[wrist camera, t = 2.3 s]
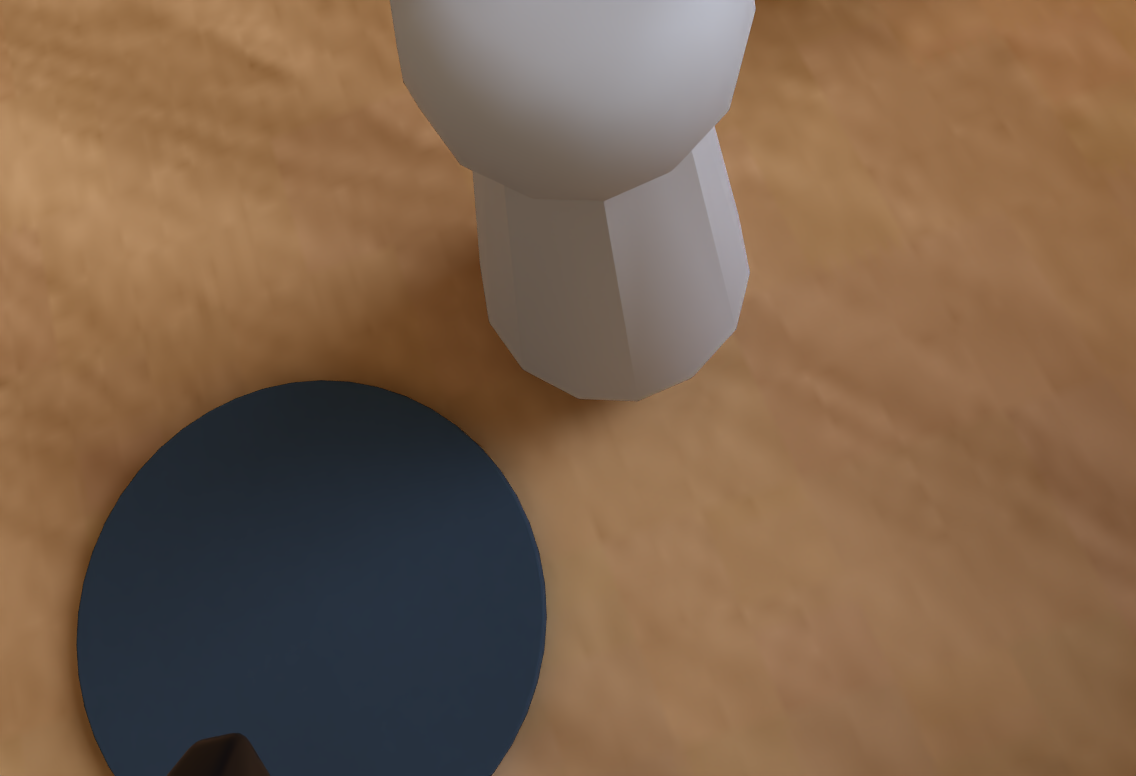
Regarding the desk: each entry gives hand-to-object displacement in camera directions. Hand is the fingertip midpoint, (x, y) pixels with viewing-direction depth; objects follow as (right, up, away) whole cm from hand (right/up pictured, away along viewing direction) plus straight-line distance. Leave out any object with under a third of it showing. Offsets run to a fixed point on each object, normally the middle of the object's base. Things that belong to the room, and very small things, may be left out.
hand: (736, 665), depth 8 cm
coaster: (-7, -3, +13) cm, 16 cm away
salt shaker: (0, +4, +14) cm, 15 cm away
